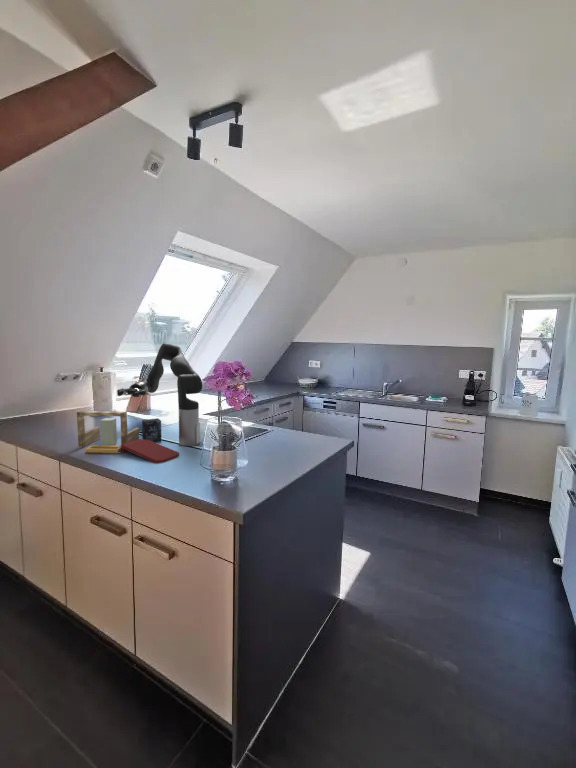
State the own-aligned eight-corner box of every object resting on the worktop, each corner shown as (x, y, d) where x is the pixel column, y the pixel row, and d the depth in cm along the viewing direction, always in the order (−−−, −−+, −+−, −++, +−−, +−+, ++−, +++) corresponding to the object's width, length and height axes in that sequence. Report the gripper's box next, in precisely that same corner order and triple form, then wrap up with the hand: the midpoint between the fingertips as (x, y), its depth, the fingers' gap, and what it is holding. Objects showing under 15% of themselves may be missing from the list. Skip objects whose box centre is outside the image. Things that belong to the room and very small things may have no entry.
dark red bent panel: (180, 464, 160) (140, 446, 172) (181, 453, 159) (140, 436, 171) (157, 473, 150) (116, 453, 161) (158, 461, 149) (117, 442, 160)
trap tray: (123, 449, 166) (123, 446, 165) (117, 453, 160) (117, 449, 160) (92, 449, 166) (92, 445, 166) (85, 453, 160) (85, 448, 160)
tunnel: (139, 439, 183) (138, 406, 181) (124, 449, 167) (123, 413, 165) (97, 438, 183) (95, 405, 181) (78, 448, 167) (76, 412, 165)
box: (144, 443, 176) (144, 421, 175) (142, 440, 181) (141, 419, 180) (161, 441, 181) (161, 420, 179) (158, 438, 185) (158, 418, 184)
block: (117, 442, 176) (116, 418, 175) (111, 445, 171) (111, 420, 170) (106, 442, 176) (105, 418, 175) (101, 445, 171) (100, 420, 170)
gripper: (125, 382, 208) (112, 386, 192) (151, 383, 208) (140, 387, 192) (126, 395, 209) (113, 401, 193) (151, 396, 209) (140, 401, 193)
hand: (126, 394), depth 193 cm, fingers open, 8 cm apart
